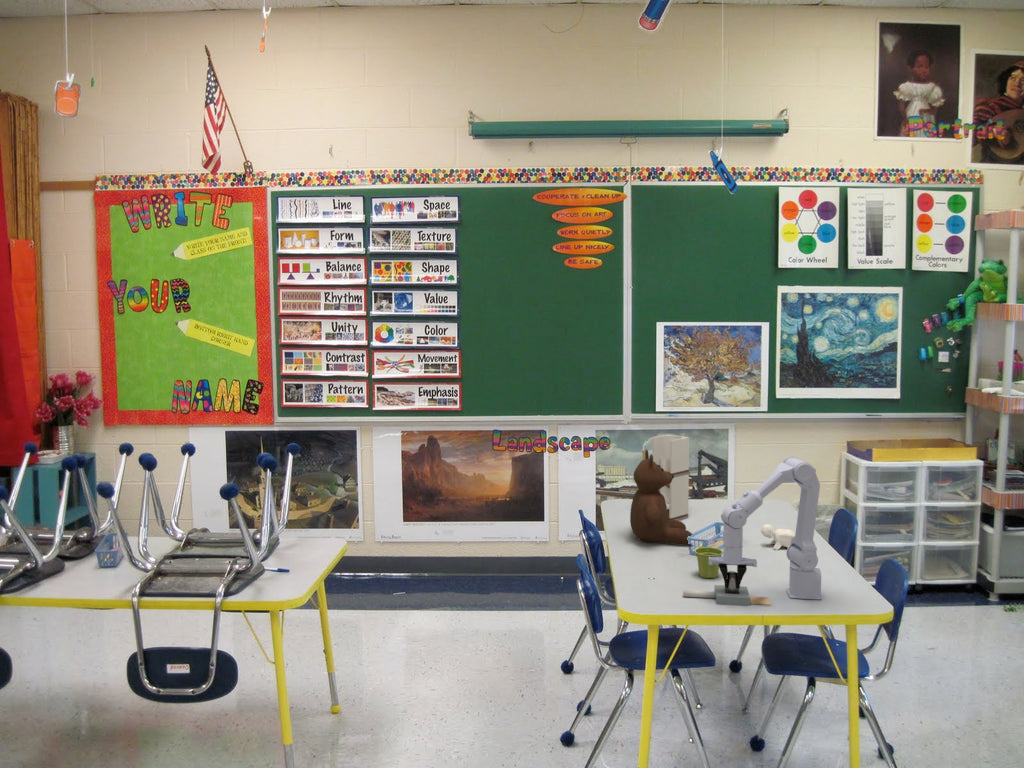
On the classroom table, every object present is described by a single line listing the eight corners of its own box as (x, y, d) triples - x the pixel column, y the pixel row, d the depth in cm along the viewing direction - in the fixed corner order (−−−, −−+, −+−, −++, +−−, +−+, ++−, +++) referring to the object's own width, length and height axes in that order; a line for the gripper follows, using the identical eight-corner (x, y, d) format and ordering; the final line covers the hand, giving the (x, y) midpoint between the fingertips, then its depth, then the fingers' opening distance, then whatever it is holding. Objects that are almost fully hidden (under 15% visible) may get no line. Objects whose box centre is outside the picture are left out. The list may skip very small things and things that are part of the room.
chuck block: (746, 594, 268) (746, 586, 268) (749, 605, 258) (750, 597, 258) (682, 590, 272) (682, 583, 271) (683, 602, 262) (683, 594, 262)
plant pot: (688, 575, 286) (689, 551, 285) (704, 569, 292) (704, 545, 291) (712, 582, 279) (713, 557, 278) (727, 575, 286) (728, 551, 285)
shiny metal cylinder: (737, 599, 263) (738, 574, 262) (728, 599, 263) (728, 574, 262) (735, 595, 266) (736, 571, 265) (725, 595, 266) (726, 571, 265)
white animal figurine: (792, 552, 321) (755, 536, 322) (801, 532, 319) (764, 516, 321) (796, 559, 312) (758, 543, 314) (805, 538, 311) (767, 522, 313)
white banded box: (668, 513, 366) (669, 434, 362) (688, 518, 358) (689, 437, 354) (651, 518, 359) (652, 437, 355) (670, 523, 351) (672, 440, 347)
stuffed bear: (698, 552, 312) (701, 459, 309) (637, 551, 312) (639, 459, 308) (681, 530, 341) (683, 445, 338) (625, 529, 341) (627, 445, 337)
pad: (768, 598, 264) (768, 597, 264) (771, 605, 258) (771, 604, 258) (749, 597, 265) (749, 596, 265) (751, 604, 259) (751, 603, 259)
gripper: (755, 542, 265) (754, 584, 267) (708, 540, 267) (707, 581, 269) (758, 549, 258) (757, 592, 260) (709, 547, 261) (709, 589, 262)
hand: (732, 587), depth 264 cm, fingers closed on shiny metal cylinder, 3 cm apart
